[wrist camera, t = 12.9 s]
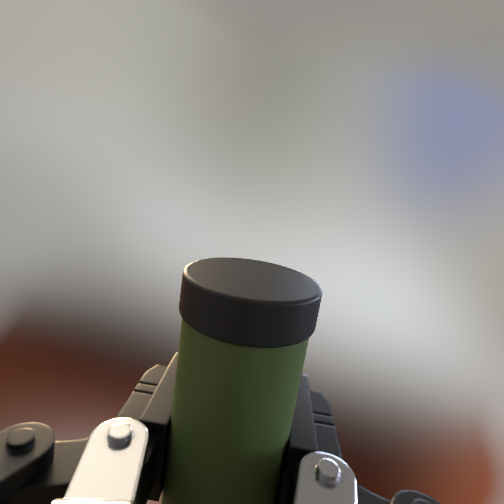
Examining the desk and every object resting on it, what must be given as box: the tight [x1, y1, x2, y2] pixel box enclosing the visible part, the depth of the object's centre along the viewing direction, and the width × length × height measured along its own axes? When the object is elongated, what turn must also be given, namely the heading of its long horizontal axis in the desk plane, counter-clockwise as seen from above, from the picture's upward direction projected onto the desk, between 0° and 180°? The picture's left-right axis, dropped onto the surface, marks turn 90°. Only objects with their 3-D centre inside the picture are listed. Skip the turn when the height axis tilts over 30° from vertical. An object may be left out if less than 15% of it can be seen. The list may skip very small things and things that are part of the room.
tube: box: [161, 258, 322, 504], centre depth 10 cm, size 3×3×11 cm
